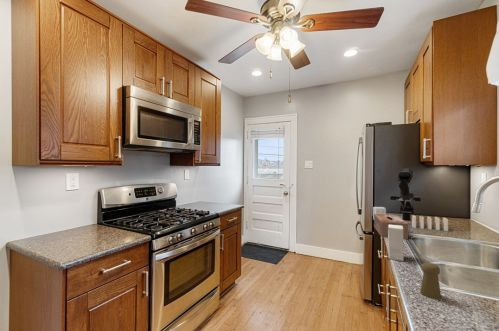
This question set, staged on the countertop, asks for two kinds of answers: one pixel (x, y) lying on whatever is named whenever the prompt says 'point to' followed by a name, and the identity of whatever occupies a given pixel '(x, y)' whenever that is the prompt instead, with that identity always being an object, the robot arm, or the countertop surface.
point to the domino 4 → (445, 224)
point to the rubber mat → (427, 228)
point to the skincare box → (395, 242)
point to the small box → (379, 210)
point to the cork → (430, 281)
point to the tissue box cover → (383, 222)
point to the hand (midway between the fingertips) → (404, 209)
